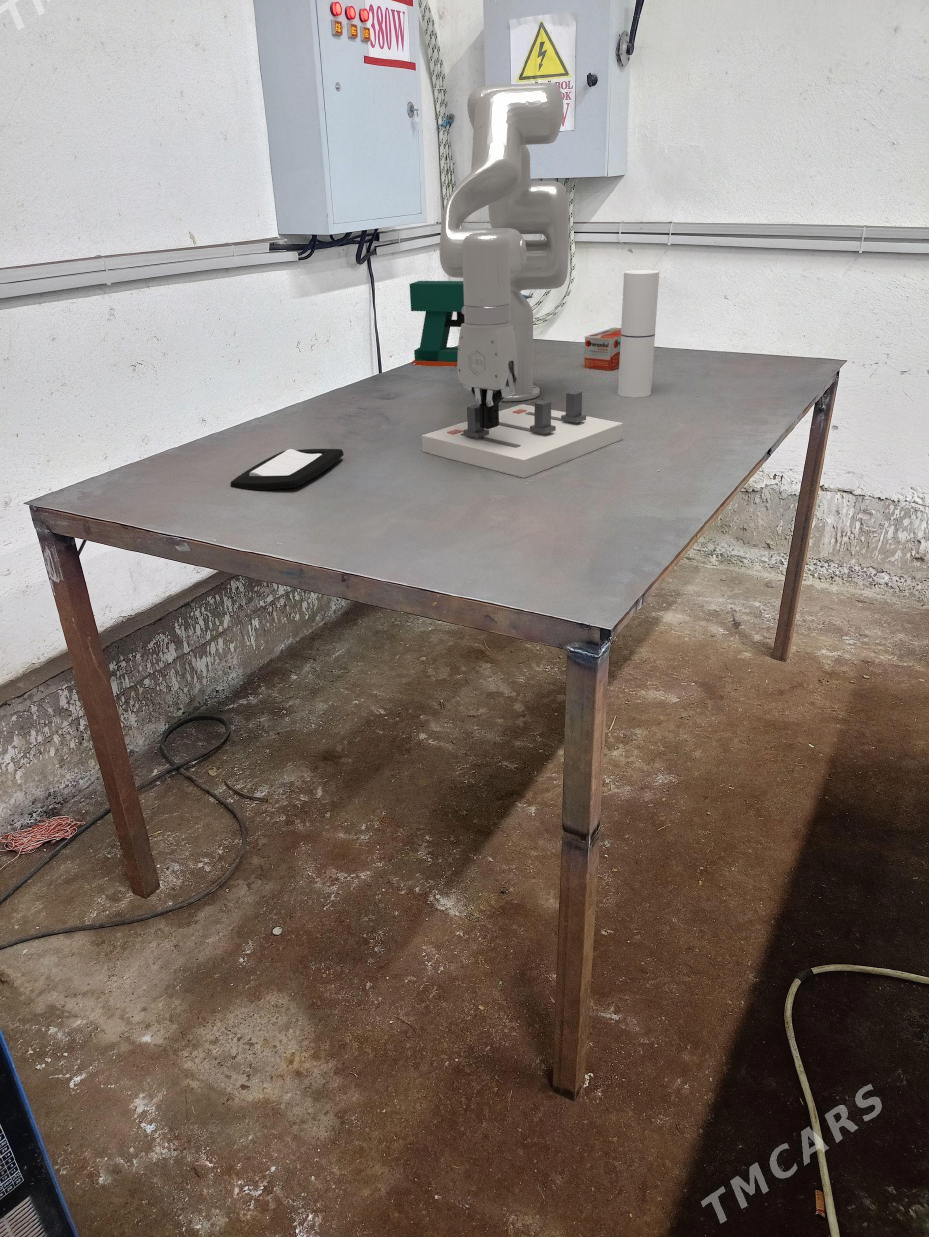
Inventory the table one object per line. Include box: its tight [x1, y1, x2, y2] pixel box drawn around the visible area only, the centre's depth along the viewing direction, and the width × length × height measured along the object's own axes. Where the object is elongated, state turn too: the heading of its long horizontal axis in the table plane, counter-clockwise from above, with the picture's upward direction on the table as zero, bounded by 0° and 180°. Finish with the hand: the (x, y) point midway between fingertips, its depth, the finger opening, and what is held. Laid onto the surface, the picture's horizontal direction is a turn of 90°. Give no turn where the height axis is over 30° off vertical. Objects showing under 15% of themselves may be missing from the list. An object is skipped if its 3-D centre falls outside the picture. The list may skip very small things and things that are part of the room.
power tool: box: [409, 280, 533, 367], centre depth 217 cm, size 32×7×20 cm, turn 71°
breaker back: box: [561, 390, 587, 423], centre depth 156 cm, size 4×3×5 cm
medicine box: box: [583, 327, 621, 372], centre depth 215 cm, size 15×8×8 cm, turn 142°
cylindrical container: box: [617, 269, 660, 399], centre depth 182 cm, size 7×7×25 cm
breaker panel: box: [421, 403, 624, 479], centre depth 155 cm, size 24×28×3 cm
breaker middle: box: [530, 400, 556, 434], centre depth 150 cm, size 4×3×5 cm
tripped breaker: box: [463, 403, 489, 438], centre depth 149 cm, size 4×3×5 cm
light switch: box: [229, 448, 344, 491], centre depth 146 cm, size 20×3×14 cm
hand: (489, 426), depth 148 cm, fingers closed
